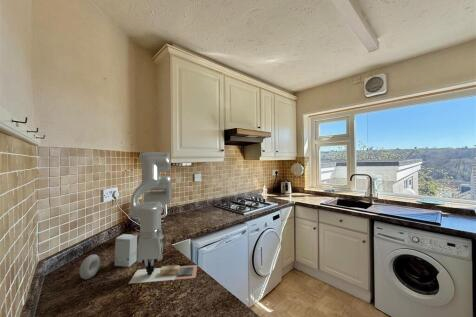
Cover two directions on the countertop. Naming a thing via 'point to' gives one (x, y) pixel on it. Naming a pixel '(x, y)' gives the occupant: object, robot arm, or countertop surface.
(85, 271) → the donut
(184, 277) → the board
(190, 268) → the turner
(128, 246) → the skincare box
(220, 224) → the countertop surface
